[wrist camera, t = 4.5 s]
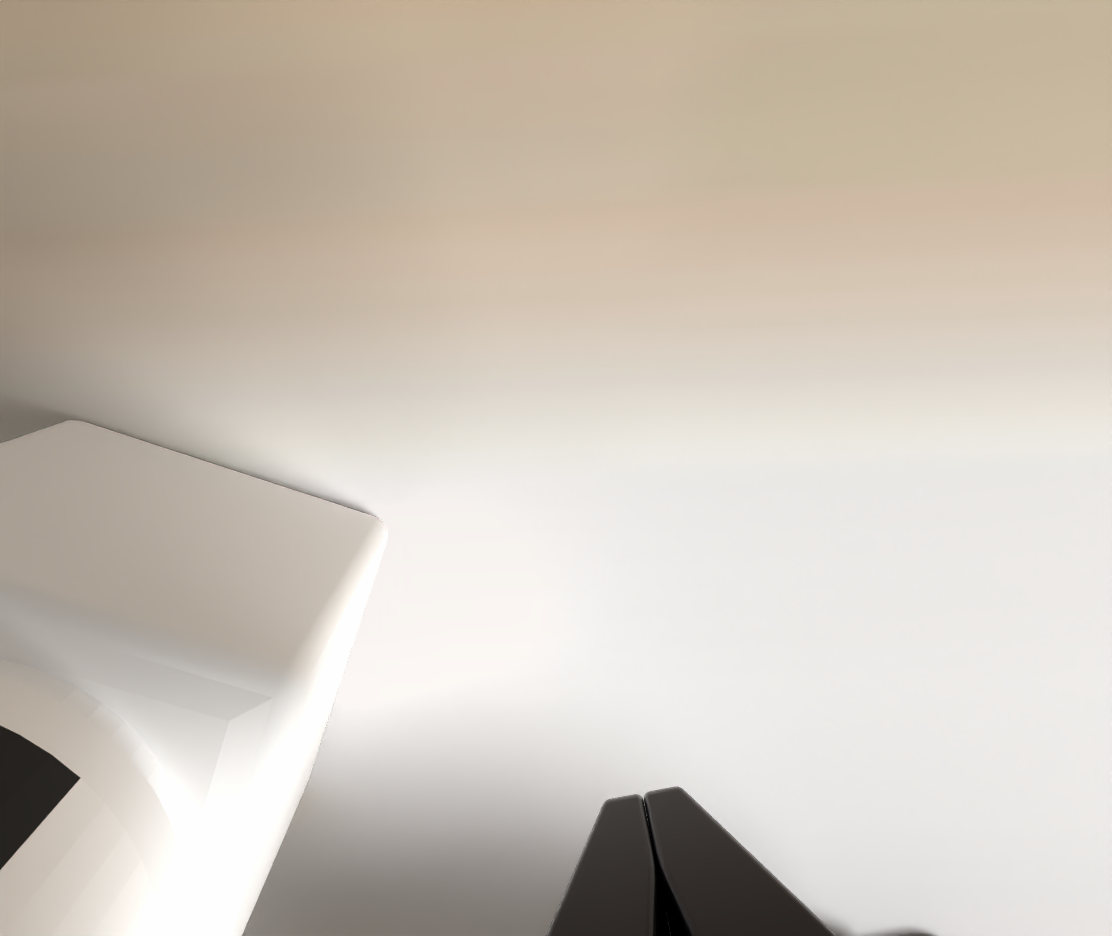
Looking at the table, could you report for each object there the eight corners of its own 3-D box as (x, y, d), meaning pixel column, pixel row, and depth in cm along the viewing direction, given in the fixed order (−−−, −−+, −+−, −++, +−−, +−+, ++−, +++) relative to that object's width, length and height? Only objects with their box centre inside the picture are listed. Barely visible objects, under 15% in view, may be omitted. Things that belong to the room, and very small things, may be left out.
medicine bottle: (7, 698, 19) (-869, 1429, 7) (70, 411, 17) (-935, 738, 5) (308, 783, 19) (-29, 1569, 8) (395, 517, 18) (136, 1005, 6)
